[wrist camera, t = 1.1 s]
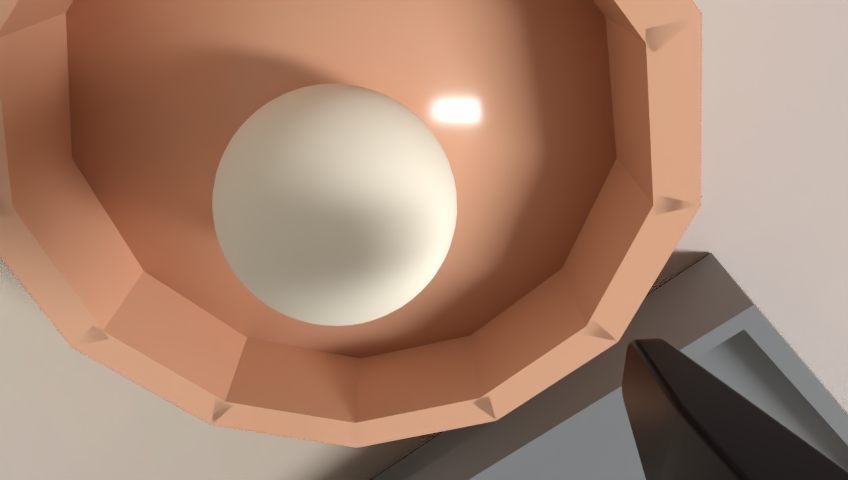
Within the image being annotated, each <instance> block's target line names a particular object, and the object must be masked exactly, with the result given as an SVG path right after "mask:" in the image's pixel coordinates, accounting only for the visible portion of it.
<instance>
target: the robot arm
mask: <svg viewBox="0 0 848 480" xmlns="http://www.w3.org/2000/svg"><path fill="white" fill-rule="evenodd" d="M622 396H623V400H624V404H625V408H626V411H627V415H628V418H629V422H630V425H631V429H632V432H633V436H634V439H635V443H636V446H637V450H638V454H639V457H640V461H641V464H642V468H643V471H644V475H645V478H646V480H848V471H847V470H845V469H844V468H843V467H841V466H840V465H839V464H837V463H836V462H834V461H833V460H832V459H830V458H829V457H827V456H826V455H825V454H823V453H822V452H820V451H819V450H818V449H816V448H815V447H813V446H812V445H811V444H809V443H808V442H807V441H805V440H804V439H802V438H801V437H800V436H798V435H797V434H795V433H794V432H793V431H791V430H790V429H788V428H787V427H786V426H784V425H783V424H781V423H780V422H779V421H777V420H776V419H775V418H773V417H772V416H770V415H769V414H768V413H766V412H765V411H763V410H762V409H761V408H759V407H758V406H756V405H755V404H754V403H752V402H751V401H749V400H748V399H747V398H745V397H744V396H742V395H741V394H740V393H738V392H737V391H736V390H734V389H733V388H731V387H730V386H729V385H727V384H726V383H724V382H723V381H722V380H720V379H719V378H717V377H716V376H715V375H713V374H712V373H710V372H709V371H708V370H706V369H705V368H704V367H702V366H701V365H699V364H698V363H697V362H695V361H694V360H692V359H691V358H690V357H688V356H687V355H685V354H684V353H683V352H681V351H680V350H678V349H677V348H676V347H674V346H673V345H671V344H670V343H669V342H667V341H666V340H664V339H662V338H658V337H654V338H640V339H633V340H631V341H630V342H629V344H628V346H627V351H626V357H625V364H624V370H623V377H622Z"/></svg>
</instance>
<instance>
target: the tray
mask: <svg viewBox="0 0 848 480" xmlns="http://www.w3.org/2000/svg"><path fill="white" fill-rule="evenodd" d="M654 337H658V338H662V339H664V340H666V341H667V342H669V343H670V344H671V345H673V346H674V347H676V348H677V349H678V350H680V351H681V352H683V353H684V354H685V355H687V356H688V357H690V358H691V359H692V360H694V361H695V362H697V363H698V364H699V365H701V366H702V367H704V368H705V369H706V370H708V371H709V372H710V373H712V374H713V375H715V376H716V377H717V378H719V379H720V380H722V381H723V382H724V383H726V384H727V385H729V386H730V387H731V388H733V389H734V390H736V391H737V392H738V393H740V394H741V395H742V396H744V397H745V398H747V399H748V400H749V401H751V402H752V403H754V404H755V405H756V406H758V407H759V408H761V409H762V410H763V411H765V412H766V413H768V414H769V415H770V416H772V417H773V418H775V419H776V420H777V421H779V422H780V423H781V424H783V425H784V426H786V427H787V428H788V429H790V430H791V431H793V432H794V433H795V434H797V435H798V436H800V437H801V438H802V439H804V440H805V441H807V442H808V443H809V444H811V445H812V446H813V447H815V448H816V449H818V450H819V451H820V452H822V453H823V454H825V455H826V456H827V457H829V458H830V459H832V460H833V461H834V462H836V463H837V464H839V465H840V466H841V467H843V468H844V469H845V470H847V471H848V414H847V412H846V411H845V410H844V409H843V408H842V407H841V405H840V404H839V403H838V402H837V401H836V400H835V398H834V397H833V396H832V395H831V394H830V392H829V391H828V390H827V389H826V388H825V387H824V385H823V384H822V383H821V382H820V381H819V379H818V378H817V377H816V376H815V375H814V374H813V372H812V371H811V370H810V369H809V368H808V367H807V365H806V364H805V363H804V362H803V361H802V359H801V358H800V357H799V356H798V355H797V354H796V352H795V351H794V350H793V349H792V348H791V347H790V345H789V344H788V343H787V342H786V341H785V339H784V338H783V337H782V336H781V335H780V334H779V332H778V331H777V330H776V329H775V328H774V326H773V325H772V324H771V323H770V322H769V321H768V319H767V318H766V317H765V316H764V315H763V314H762V312H761V311H760V310H759V309H758V308H757V306H756V305H755V304H754V303H753V302H752V301H751V299H750V298H749V297H748V296H747V295H746V294H745V292H744V291H743V290H742V289H741V288H740V286H739V285H738V284H737V283H736V282H735V281H734V279H733V278H732V277H731V276H730V275H729V273H728V272H727V271H726V270H725V269H724V268H723V266H722V265H721V264H720V263H719V262H718V261H717V259H716V258H715V257H714V256H713V255H712V253H710V254H709V255H707V256H706V257H704V258H703V259H701V260H700V261H698V262H697V263H695V264H694V265H692V266H691V267H689V268H688V269H686V270H685V271H683V272H682V273H680V274H679V275H677V276H676V277H674V278H673V279H671V280H670V281H668V282H667V283H665V284H664V285H662V286H661V287H659V288H658V289H656V290H655V291H653V292H652V293H650V294H649V295H647V296H646V297H645V299H644V300H643V302H642V304H641V305H640V307H639V308H638V310H637V312H636V313H635V315H634V317H633V318H632V320H631V322H630V323H629V325H628V327H627V328H626V330H625V332H624V333H623V335H622V337H621V338H620V340H619V342H617V343H616V344H614V345H613V346H611V347H610V348H608V349H607V350H605V351H603V352H602V353H600V354H599V355H597V356H596V357H594V358H593V359H591V360H590V361H588V362H586V363H585V364H583V365H582V366H580V367H579V368H577V369H576V370H574V371H573V372H571V373H569V374H568V375H566V376H565V377H563V378H562V379H560V380H559V381H557V382H556V383H554V384H552V385H551V386H549V387H548V388H546V389H545V390H543V391H542V392H540V393H539V394H537V395H536V396H534V397H532V398H531V399H529V400H528V401H526V402H525V403H523V404H522V405H520V406H519V407H517V408H515V409H514V410H512V411H511V412H509V413H508V414H506V415H505V416H503V417H502V418H500V419H498V420H496V421H493V422H488V423H483V424H477V425H472V426H467V427H462V428H457V429H452V430H446V431H443V432H442V433H440V434H439V435H437V436H436V437H434V438H433V439H432V440H430V441H429V442H427V443H426V444H424V445H423V446H421V447H420V448H418V449H417V450H415V451H414V452H412V453H411V454H409V455H408V456H406V457H405V458H403V459H402V460H400V461H399V462H397V463H396V464H394V465H393V466H391V467H390V468H388V469H387V470H385V471H384V472H382V473H381V474H379V475H378V476H376V477H375V478H373V479H372V480H646V478H645V475H644V471H643V468H642V464H641V461H640V457H639V454H638V450H637V446H636V443H635V439H634V436H633V432H632V429H631V425H630V422H629V418H628V415H627V411H626V408H625V404H624V400H623V396H622V377H623V370H624V364H625V357H626V351H627V346H628V344H629V342H630V341H631V340H633V339H640V338H654Z"/></svg>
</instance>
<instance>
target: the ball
mask: <svg viewBox="0 0 848 480" xmlns="http://www.w3.org/2000/svg"><path fill="white" fill-rule="evenodd" d="M212 210H213V218H214V226H215V231H216V235H217V238H218V242H219V245H220V247H221V249H222V251H223V254H224V256H225V258H226V260H227V262H228V264H229V266H230V267H231V269H232V271H233V272H234V274H235V275H236V276H237V277H238V279H239V280H240V281H241V282H242V284H243V285H244V286H245V287H246V288H247V289H248V290H249V291H250V292H251V293H252V294H253V295H254V296H255V297H257V298H258V299H259V300H261V301H262V302H263V303H264V304H266V305H267V306H269V307H271V308H272V309H274V310H276V311H278V312H280V313H282V314H284V315H286V316H288V317H291V318H294V319H297V320H300V321H304V322H308V323H312V324H318V325H326V326H345V325H355V324H361V323H365V322H369V321H372V320H375V319H378V318H380V317H383V316H386V315H387V314H389V313H391V312H393V311H395V310H397V309H399V308H401V307H402V306H404V305H405V304H407V303H408V302H409V301H411V300H412V299H413V298H414V297H415V296H416V295H418V294H419V293H420V292H421V291H422V290H423V289H424V288H425V287H426V286H427V285H428V283H429V282H430V281H431V280H432V279H433V277H434V276H435V274H436V273H437V271H438V270H439V268H440V266H441V265H442V263H443V261H444V259H445V257H446V255H447V253H448V250H449V248H450V245H451V241H452V238H453V234H454V230H455V225H456V217H457V195H456V187H455V181H454V177H453V174H452V171H451V168H450V165H449V162H448V159H447V156H446V154H445V152H444V150H443V148H442V146H441V145H440V143H439V142H438V140H437V139H436V137H435V136H434V134H433V133H432V132H431V130H430V129H429V128H428V127H427V126H426V125H425V124H424V122H423V121H422V120H421V119H420V118H419V117H418V116H417V115H415V114H414V113H413V112H412V111H411V110H410V109H408V108H407V107H405V106H404V105H402V104H401V103H399V102H398V101H396V100H395V99H393V98H391V97H388V96H386V95H384V94H382V93H380V92H377V91H374V90H371V89H368V88H365V87H360V86H355V85H349V84H335V83H332V84H317V85H312V86H307V87H302V88H299V89H296V90H293V91H290V92H288V93H285V94H283V95H281V96H279V97H277V98H275V99H273V100H271V101H270V102H268V103H267V104H265V105H264V106H262V107H261V108H259V109H258V110H257V111H256V112H255V113H253V114H252V115H251V116H250V117H249V118H248V119H247V120H246V121H245V122H244V123H243V124H242V125H241V127H240V128H239V129H238V130H237V132H236V133H235V134H234V136H233V137H232V138H231V140H230V142H229V144H228V146H227V148H226V150H225V151H224V153H223V156H222V158H221V160H220V163H219V166H218V169H217V172H216V177H215V183H214V188H213V198H212Z"/></svg>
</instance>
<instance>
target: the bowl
mask: <svg viewBox="0 0 848 480" xmlns="http://www.w3.org/2000/svg"><path fill="white" fill-rule="evenodd" d="M332 83H335V84H349V85H355V86H360V87H365V88H368V89H371V90H374V91H377V92H380V93H382V94H384V95H386V96H388V97H391V98H393V99H395V100H396V101H398V102H399V103H401V104H402V105H404V106H405V107H407V108H408V109H410V110H411V111H412V112H413V113H414V114H415V115H417V116H418V117H419V118H420V119H421V120H422V121H423V122H424V124H425V125H426V126H427V127H428V128H429V129H430V130H431V132H432V133H433V134H434V136H435V137H436V139H437V140H438V142H439V143H440V145H441V146H442V148H443V150H444V152H445V154H446V156H447V159H448V162H449V165H450V168H451V171H452V174H453V177H454V181H455V187H456V195H457V217H456V225H455V230H454V234H453V238H452V241H451V245H450V248H449V250H448V253H447V255H446V257H445V259H444V261H443V263H442V265H441V266H440V268H439V270H438V271H437V273H436V274H435V276H434V277H433V279H432V280H431V281H430V282H429V283H428V285H427V286H426V287H425V288H424V289H423V290H422V291H421V292H420V293H419V294H418V295H416V296H415V297H414V298H413V299H412V300H411V301H409V302H408V303H407V304H405V305H404V306H402V307H401V308H399V309H397V310H395V311H393V312H391V313H389V314H387V315H386V316H383V317H380V318H378V319H375V320H372V321H369V322H365V323H361V324H355V325H345V326H326V325H318V324H312V323H308V322H304V321H300V320H297V319H294V318H291V317H288V316H286V315H284V314H282V313H280V312H278V311H276V310H274V309H272V308H271V307H269V306H267V305H266V304H264V303H263V302H262V301H261V300H259V299H258V298H257V297H255V296H254V295H253V294H252V293H251V292H250V291H249V290H248V289H247V288H246V287H245V286H244V285H243V284H242V282H241V281H240V280H239V279H238V277H237V276H236V275H235V274H234V272H233V271H232V269H231V267H230V266H229V264H228V262H227V260H226V258H225V256H224V254H223V251H222V249H221V247H220V245H219V242H218V238H217V235H216V231H215V226H214V218H213V210H212V198H213V188H214V183H215V177H216V172H217V169H218V166H219V163H220V160H221V158H222V156H223V153H224V151H225V150H226V148H227V146H228V144H229V142H230V140H231V138H232V137H233V136H234V134H235V133H236V132H237V130H238V129H239V128H240V127H241V125H242V124H243V123H244V122H245V121H246V120H247V119H248V118H249V117H250V116H251V115H252V114H253V113H255V112H256V111H257V110H258V109H259V108H261V107H262V106H264V105H265V104H267V103H268V102H270V101H271V100H273V99H275V98H277V97H279V96H281V95H283V94H285V93H288V92H290V91H293V90H296V89H299V88H302V87H307V86H312V85H317V84H332ZM701 92H702V13H701V12H700V10H699V9H698V7H697V6H696V4H695V3H694V1H693V0H0V257H1V259H2V260H3V261H4V262H5V264H6V265H7V266H8V267H9V269H10V270H11V271H12V273H13V274H14V275H15V276H16V278H17V279H18V280H19V281H20V283H21V284H22V285H23V287H24V288H25V289H26V290H27V292H28V293H29V294H30V295H31V297H32V298H33V299H34V301H35V302H36V303H37V304H38V306H39V307H40V308H41V309H42V311H43V312H44V313H45V315H46V316H47V317H48V318H49V320H50V321H51V322H52V323H53V325H54V326H55V327H56V328H57V330H58V331H59V332H60V334H61V335H62V336H63V337H64V339H65V340H66V341H67V342H68V344H69V345H70V346H71V347H72V348H73V349H75V350H77V351H79V352H80V353H82V354H84V355H86V356H88V357H89V358H91V359H93V360H95V361H97V362H98V363H100V364H102V365H104V366H106V367H107V368H109V369H111V370H113V371H115V372H116V373H118V374H120V375H122V376H124V377H125V378H127V379H129V380H131V381H133V382H134V383H136V384H138V385H140V386H142V387H143V388H145V389H147V390H149V391H151V392H153V393H154V394H156V395H158V396H160V397H162V398H163V399H165V400H167V401H169V402H171V403H172V404H174V405H176V406H178V407H180V408H181V409H183V410H185V411H187V412H189V413H190V414H192V415H194V416H196V417H198V418H199V419H201V420H203V421H205V422H207V423H208V424H210V425H211V424H212V425H214V426H220V427H227V428H233V429H240V430H246V431H252V432H259V433H265V434H271V435H278V436H284V437H291V438H297V439H303V440H310V441H316V442H322V443H329V444H335V445H342V446H348V447H354V448H359V447H364V446H369V445H374V444H380V443H385V442H390V441H395V440H400V439H405V438H410V437H416V436H421V435H426V434H431V433H436V432H441V431H446V430H452V429H457V428H462V427H467V426H472V425H477V424H483V423H488V422H493V421H496V420H498V419H500V418H502V417H503V416H505V415H506V414H508V413H509V412H511V411H512V410H514V409H515V408H517V407H519V406H520V405H522V404H523V403H525V402H526V401H528V400H529V399H531V398H532V397H534V396H536V395H537V394H539V393H540V392H542V391H543V390H545V389H546V388H548V387H549V386H551V385H552V384H554V383H556V382H557V381H559V380H560V379H562V378H563V377H565V376H566V375H568V374H569V373H571V372H573V371H574V370H576V369H577V368H579V367H580V366H582V365H583V364H585V363H586V362H588V361H590V360H591V359H593V358H594V357H596V356H597V355H599V354H600V353H602V352H603V351H605V350H607V349H608V348H610V347H611V346H613V345H614V344H616V343H617V342H619V340H620V338H621V337H622V335H623V333H624V332H625V330H626V328H627V327H628V325H629V323H630V322H631V320H632V318H633V317H634V315H635V313H636V312H637V310H638V308H639V307H640V305H641V304H642V302H643V300H644V299H645V297H646V295H647V294H648V292H649V290H650V289H651V287H652V285H653V284H654V282H655V280H656V279H657V277H658V275H659V274H660V272H661V270H662V269H663V267H664V265H665V264H666V262H667V260H668V259H669V257H670V255H671V254H672V252H673V250H674V249H675V247H676V246H677V244H678V242H679V241H680V239H681V237H682V236H683V234H684V232H685V231H686V229H687V227H688V226H689V224H690V222H691V221H692V219H693V217H694V216H695V214H696V212H697V211H698V209H699V207H700V206H701Z"/></svg>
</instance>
